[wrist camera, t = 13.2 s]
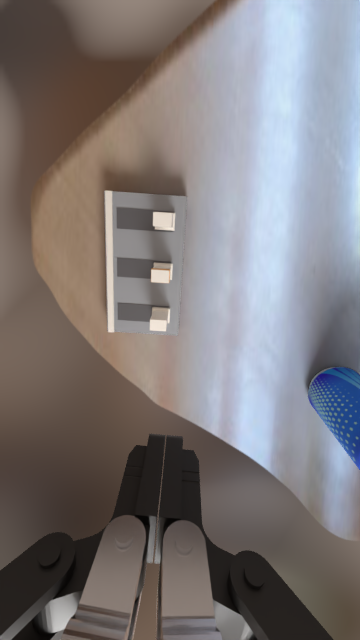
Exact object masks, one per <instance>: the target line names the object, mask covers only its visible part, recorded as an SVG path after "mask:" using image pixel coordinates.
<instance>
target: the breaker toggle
mask: <svg viewBox="0 0 360 640" xmlns="http://www.w3.org/2000/svg"><path fill="white" fill-rule="evenodd" d="M172 272H173V264H170V263H155V262H154V267H153V268H152V269H151V282H156V283H169V282H170V280H172Z"/></svg>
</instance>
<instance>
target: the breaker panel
mask: <svg viewBox="0 0 360 640" xmlns="http://www.w3.org/2000/svg"><path fill="white" fill-rule="evenodd" d="M186 208H187V196H174V195H159V194H144V193H130V192H115V191H104V209H105V251H106V294H107V331H108V332H129V333H144V334H160V335H175V336H178V329H179V314H180V299H181V284H182V269H183V253H184V238H185V223H186ZM154 262H155V263H170V264H173V272H172V280H170V282H169V283H156V282H151V269H152V268H153V267H154Z"/></svg>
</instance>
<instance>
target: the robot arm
mask: <svg viewBox="0 0 360 640" xmlns="http://www.w3.org/2000/svg"><path fill="white" fill-rule="evenodd" d="M164 445H165V435H159V434H149V439H148V445H147V446H140V445H136V446H135V447H134V449H133V450H132V451H131V452H130V454H129V456H128V460H127V464H126V468H125V472H124V476H123V479H122V483H121V487H120V491H119V495H118V499H117V503H116V507H115V510H114V514H113V517H112V519H111V521H110V522H109V524H108V525H107V526H106V527H105V528H104V529H103V530H102V531H100V532H99V533H97V534H95V535H93V536H90V537H87V538H84V539H80V540H76V541H73V540H72V538H71V537H70V536H69V535H67V534H65V533H62V532H55V533H51V534H48V535H46V536H44V537H43V538H41V539H40V540H38V541H37V542H36V543H35V544H33V545H32V546H31V547H30V548H28V549H27V550H26V551H25V552H23V553H22V554H21V555H20V556H19V557H17V558H16V559H14V560H13V561H12V562H11V563H9V564H8V565H7V566H6V567H4V568H3V569H2V570H1V571H0V640H60V639H61V640H133V636H134V630H135V625H136V620H137V614H138V609H139V604H140V597H141V592H142V589H143V586H144V581H145V573H146V564H147V563H152V562H153V553H154V543H155V533H156V523H157V514H158V504H159V495H160V485H161V476H162V475H161V474H162V466H163V455H164ZM182 445H183V438H182V437H181V436H171V435H167V439H166V449H165V460H164V469H163V479H162V490H161V501H160V510H159V521H158V531H157V541H156V552H155V563H158V564H160V570H159V581H158V591H157V625H156V640H333V639H332V637H331V636H330V635H329V634H328V633H327V631H326V630H325V629H324V628H323V627H322V626H321V624H320V623H319V622H318V621H317V620H316V618H315V617H314V616H313V615H312V614H311V613H310V611H309V610H308V609H307V608H306V607H305V605H304V604H303V603H302V602H301V601H300V600H299V598H298V597H297V596H296V595H295V594H294V592H293V591H292V590H291V589H290V588H289V587H288V585H287V584H286V583H285V582H284V581H283V579H282V578H281V577H280V576H279V575H278V574H277V572H276V571H275V570H274V569H273V568H272V567H271V565H270V564H269V563H268V562H267V561H266V560H265V559H264V558H263V557H262V556H261V555H259V554H258V553H255V552H252V551H241V552H239V553H238V554H236V555H233V554H231V553H228V552H226V551H224V550H222V549H220V548H218V547H217V546H216V545H214V544H213V543H212V542H211V541H210V540H209V538H208V537H207V535H206V534H205V532H204V529H203V526H202V517H201V497H200V479H199V478H200V477H199V460H198V458H197V456H196V454H195V452H194V451H193V450H183V449H182Z"/></svg>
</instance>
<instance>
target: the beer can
mask: <svg viewBox="0 0 360 640" xmlns="http://www.w3.org/2000/svg"><path fill="white" fill-rule="evenodd" d="M308 398H309V401H310V403H311V405H312V406H313V408H314V409H315V410H316V412H317V413H318V414H319V416H320V417H321V419H322V420H323V421H324V423H325V424H326V425H327V427H328V428H329V429H330V431H331V432H332V433H333V435H334V436H335V437H336V439H337V440H338V441H339V443H340V444H341V445H342V447H343V448H344V449H345V451H346V452H347V453H348V455H349V456H350V457H351V459H352V460H353V462H354V463H355V464H356V466H357V467H358V468H359V470H360V375H359V374H358V373H357V372H356V371H354V370H352V369H350V368H346V367H332V368H327V369H324V370H322V371H321V372H319V373H318V374H316V375H315V376H314V378H313V379H312V381H311V383H310V386H309V390H308Z"/></svg>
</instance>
